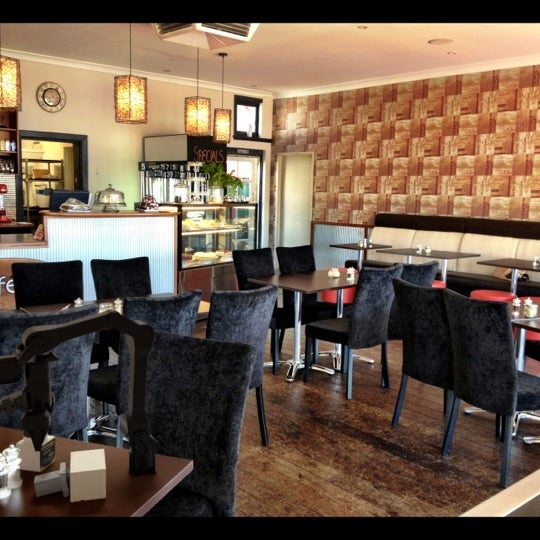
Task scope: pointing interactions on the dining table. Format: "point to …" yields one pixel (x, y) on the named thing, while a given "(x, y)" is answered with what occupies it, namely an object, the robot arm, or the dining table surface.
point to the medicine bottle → (36, 453)
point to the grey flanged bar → (53, 482)
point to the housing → (87, 475)
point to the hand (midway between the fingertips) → (39, 443)
